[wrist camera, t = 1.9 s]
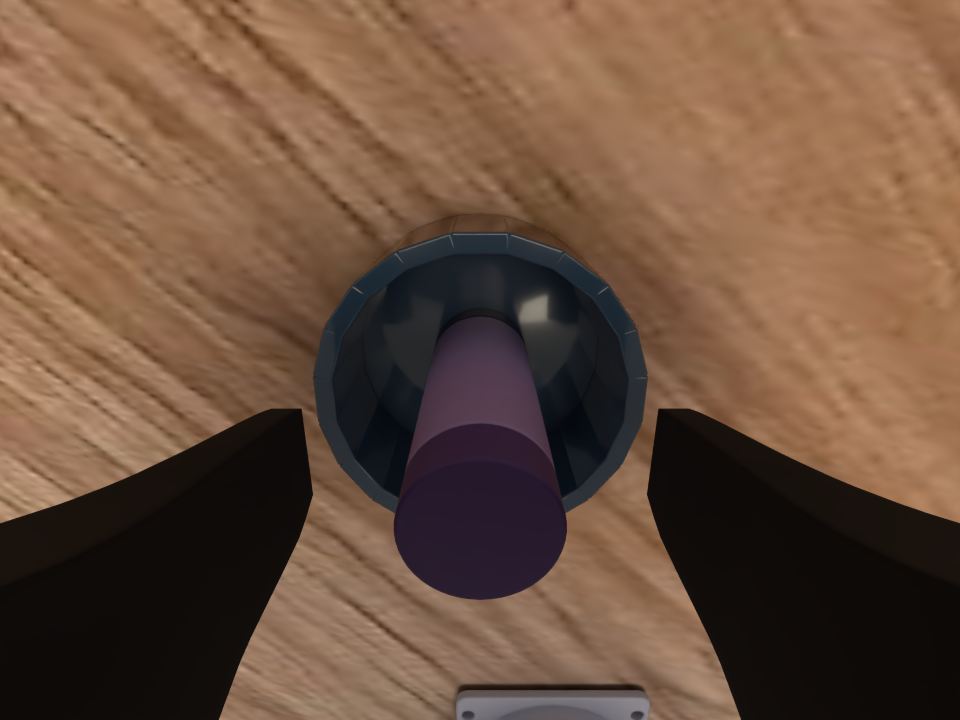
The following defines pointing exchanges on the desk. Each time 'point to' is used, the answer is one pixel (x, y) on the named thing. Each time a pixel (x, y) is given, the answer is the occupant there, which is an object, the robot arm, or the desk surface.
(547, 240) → the desk cup
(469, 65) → the desk surface
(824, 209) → the desk surface
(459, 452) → the glue stick
